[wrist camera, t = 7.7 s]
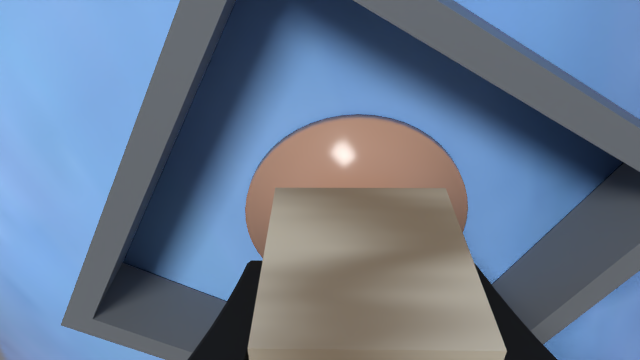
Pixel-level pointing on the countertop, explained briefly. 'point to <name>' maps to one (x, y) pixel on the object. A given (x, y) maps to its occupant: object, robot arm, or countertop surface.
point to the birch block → (369, 280)
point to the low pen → (447, 38)
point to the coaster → (351, 164)
